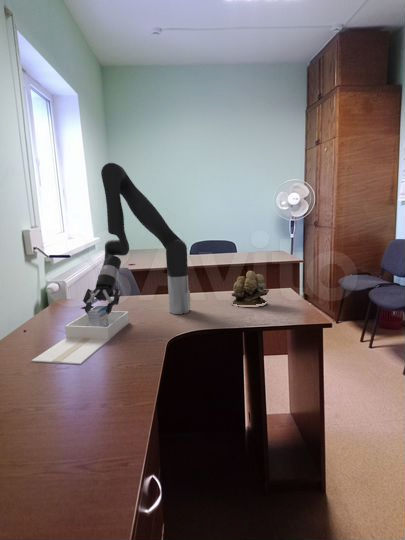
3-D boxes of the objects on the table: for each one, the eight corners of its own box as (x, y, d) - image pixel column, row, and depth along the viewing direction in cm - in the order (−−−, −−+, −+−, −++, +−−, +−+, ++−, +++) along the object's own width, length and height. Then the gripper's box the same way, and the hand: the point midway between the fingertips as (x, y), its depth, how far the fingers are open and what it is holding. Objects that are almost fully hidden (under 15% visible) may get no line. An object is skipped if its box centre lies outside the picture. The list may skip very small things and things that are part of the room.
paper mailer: (129, 322, 141) (128, 311, 140) (80, 364, 103) (78, 349, 103) (92, 321, 144) (91, 310, 143) (31, 361, 107) (29, 346, 106)
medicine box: (100, 332, 129) (98, 311, 127) (89, 332, 129) (87, 311, 128) (109, 325, 136) (107, 305, 135) (99, 325, 137) (97, 305, 135)
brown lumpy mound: (266, 301, 167) (267, 267, 164) (270, 308, 156) (271, 272, 152) (231, 301, 168) (230, 268, 165) (232, 308, 156) (232, 273, 153)
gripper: (88, 273, 137) (76, 308, 128) (120, 273, 135) (110, 309, 126) (95, 283, 143) (84, 317, 134) (126, 283, 141) (117, 317, 132)
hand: (97, 313), depth 130 cm, fingers open, 8 cm apart
